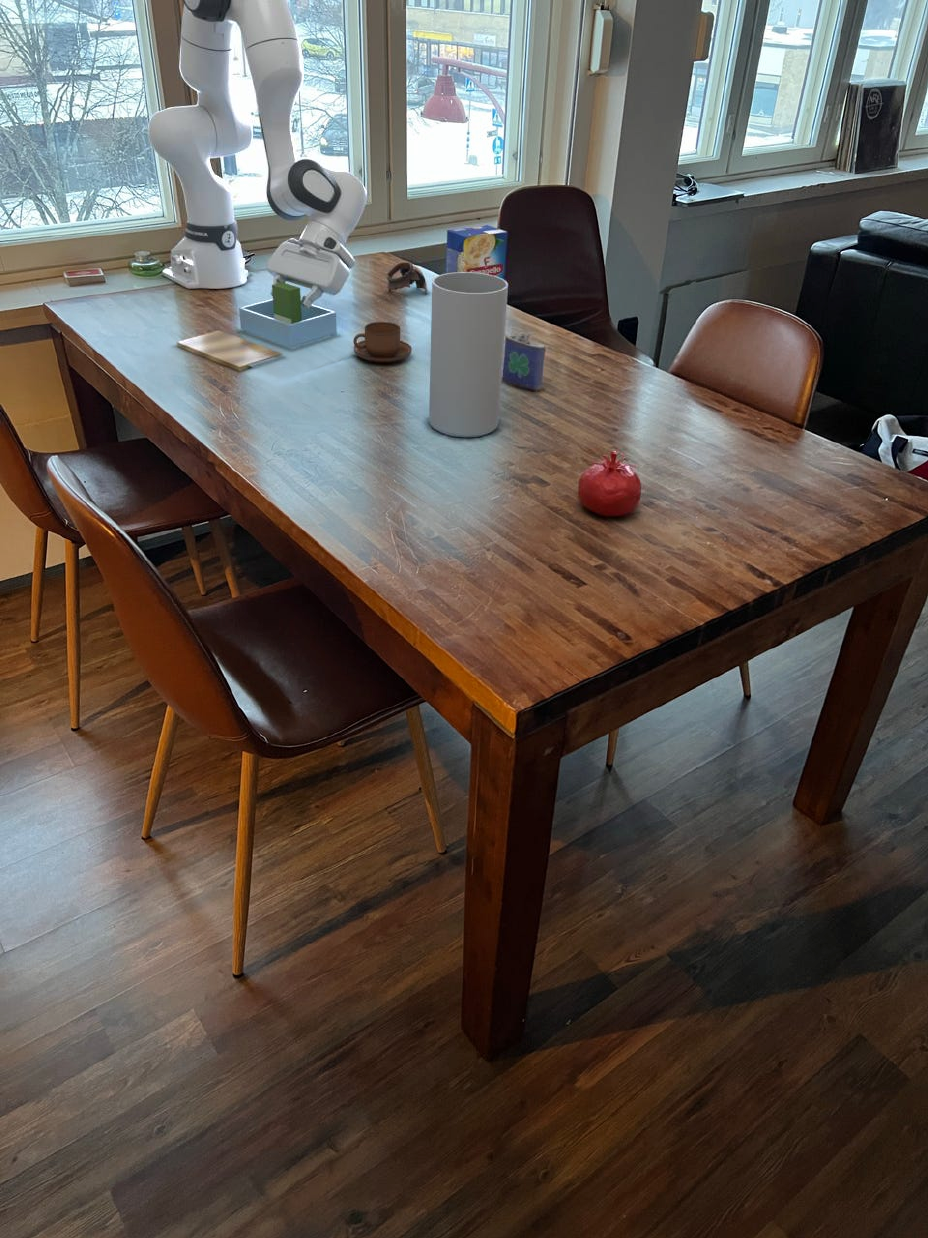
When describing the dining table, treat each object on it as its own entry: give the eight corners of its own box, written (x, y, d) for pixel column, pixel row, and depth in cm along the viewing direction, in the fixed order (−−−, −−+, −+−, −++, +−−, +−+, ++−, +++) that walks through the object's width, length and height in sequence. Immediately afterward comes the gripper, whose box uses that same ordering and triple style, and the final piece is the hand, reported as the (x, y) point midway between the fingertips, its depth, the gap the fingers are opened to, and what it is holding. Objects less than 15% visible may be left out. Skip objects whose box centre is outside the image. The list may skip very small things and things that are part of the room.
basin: (241, 332, 203) (238, 307, 200) (286, 319, 211) (285, 295, 208) (291, 350, 195) (290, 325, 192) (336, 336, 203) (336, 311, 200)
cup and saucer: (377, 371, 187) (376, 341, 183) (342, 354, 194) (341, 324, 191) (423, 359, 194) (423, 330, 190) (388, 343, 201) (388, 314, 197)
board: (177, 346, 194) (176, 341, 193) (219, 334, 201) (218, 330, 200) (240, 371, 184) (239, 366, 183) (282, 357, 191) (281, 353, 190)
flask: (544, 389, 183) (548, 335, 177) (535, 393, 181) (539, 339, 175) (507, 377, 187) (510, 324, 181) (498, 381, 186) (501, 327, 179)
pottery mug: (432, 299, 230) (417, 272, 224) (397, 314, 232) (382, 287, 226) (428, 273, 237) (414, 246, 231) (395, 288, 240) (380, 262, 234)
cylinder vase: (464, 405, 175) (470, 268, 160) (512, 426, 167) (523, 284, 153) (414, 422, 167) (416, 279, 153) (463, 445, 160) (470, 298, 146)
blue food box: (500, 334, 209) (507, 231, 196) (461, 342, 203) (466, 237, 190) (482, 326, 213) (487, 224, 200) (443, 333, 208) (446, 229, 195)
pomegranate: (595, 528, 138) (603, 472, 133) (563, 498, 146) (570, 443, 140) (651, 517, 142) (662, 462, 136) (617, 489, 149) (626, 435, 144)
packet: (274, 329, 203) (271, 284, 197) (285, 325, 205) (282, 281, 199) (292, 335, 200) (289, 290, 195) (302, 332, 202) (300, 287, 197)
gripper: (278, 227, 202) (248, 282, 202) (345, 245, 192) (313, 302, 191) (295, 245, 208) (265, 299, 207) (361, 263, 198) (330, 319, 197)
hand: (289, 301), depth 199 cm, fingers open, 8 cm apart
